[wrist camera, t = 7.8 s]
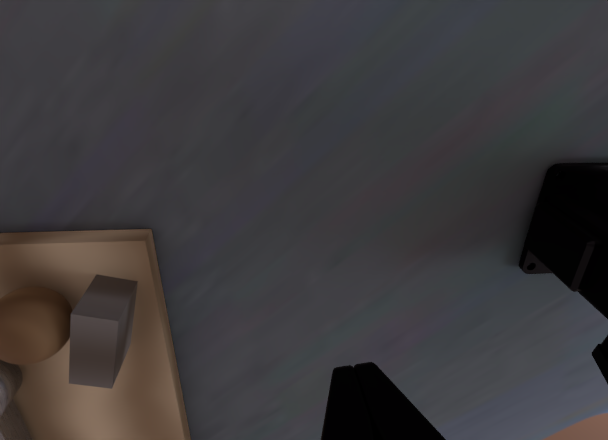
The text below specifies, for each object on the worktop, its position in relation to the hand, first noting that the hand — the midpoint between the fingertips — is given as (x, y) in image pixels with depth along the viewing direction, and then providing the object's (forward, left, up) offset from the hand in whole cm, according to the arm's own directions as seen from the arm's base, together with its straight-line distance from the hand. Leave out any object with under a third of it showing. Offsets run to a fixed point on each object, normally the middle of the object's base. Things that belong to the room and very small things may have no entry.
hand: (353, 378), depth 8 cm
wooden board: (+15, +13, -13) cm, 24 cm away
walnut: (+13, +7, -12) cm, 19 cm away
